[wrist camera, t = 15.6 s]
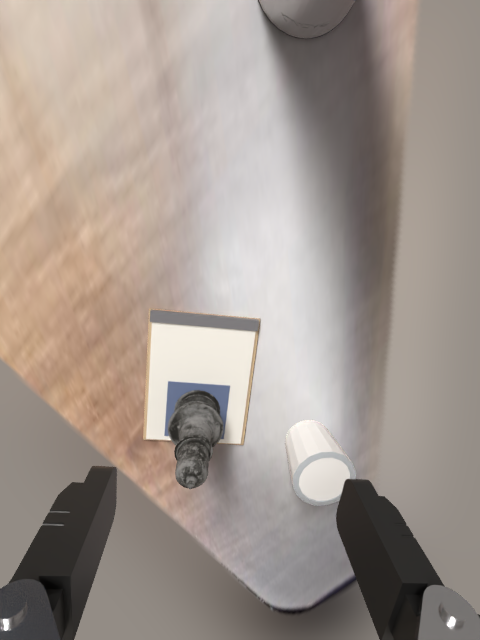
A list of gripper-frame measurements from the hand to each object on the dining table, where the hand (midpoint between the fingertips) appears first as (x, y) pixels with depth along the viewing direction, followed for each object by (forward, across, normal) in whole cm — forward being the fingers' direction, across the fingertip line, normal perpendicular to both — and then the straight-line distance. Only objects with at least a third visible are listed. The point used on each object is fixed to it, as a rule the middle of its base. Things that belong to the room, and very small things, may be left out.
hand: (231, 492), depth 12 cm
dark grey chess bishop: (+25, +1, +13) cm, 28 cm away
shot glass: (+26, -12, +16) cm, 33 cm away
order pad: (+26, +2, +10) cm, 28 cm away
